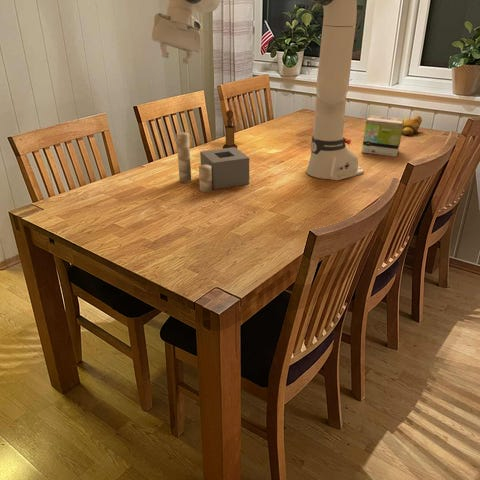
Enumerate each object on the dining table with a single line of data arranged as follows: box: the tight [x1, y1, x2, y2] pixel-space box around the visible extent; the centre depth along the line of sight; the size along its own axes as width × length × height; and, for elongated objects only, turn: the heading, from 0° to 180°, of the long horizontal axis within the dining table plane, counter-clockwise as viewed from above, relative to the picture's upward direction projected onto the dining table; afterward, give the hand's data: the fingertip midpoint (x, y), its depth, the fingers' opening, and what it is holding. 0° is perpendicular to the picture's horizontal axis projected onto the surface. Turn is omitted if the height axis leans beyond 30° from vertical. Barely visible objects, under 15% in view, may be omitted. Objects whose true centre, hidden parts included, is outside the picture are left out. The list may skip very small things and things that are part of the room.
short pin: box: [198, 164, 213, 194], centre depth 166 cm, size 4×4×9 cm
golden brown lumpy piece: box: [402, 115, 423, 136], centre depth 233 cm, size 13×10×8 cm
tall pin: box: [176, 131, 192, 184], centre depth 172 cm, size 4×4×18 cm
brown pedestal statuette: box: [222, 109, 238, 149], centre depth 204 cm, size 7×6×18 cm
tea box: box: [361, 114, 405, 158], centre depth 204 cm, size 15×10×15 cm
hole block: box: [199, 147, 250, 190], centre depth 175 cm, size 14×14×10 cm
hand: (175, 60), depth 169 cm, fingers open, 8 cm apart
